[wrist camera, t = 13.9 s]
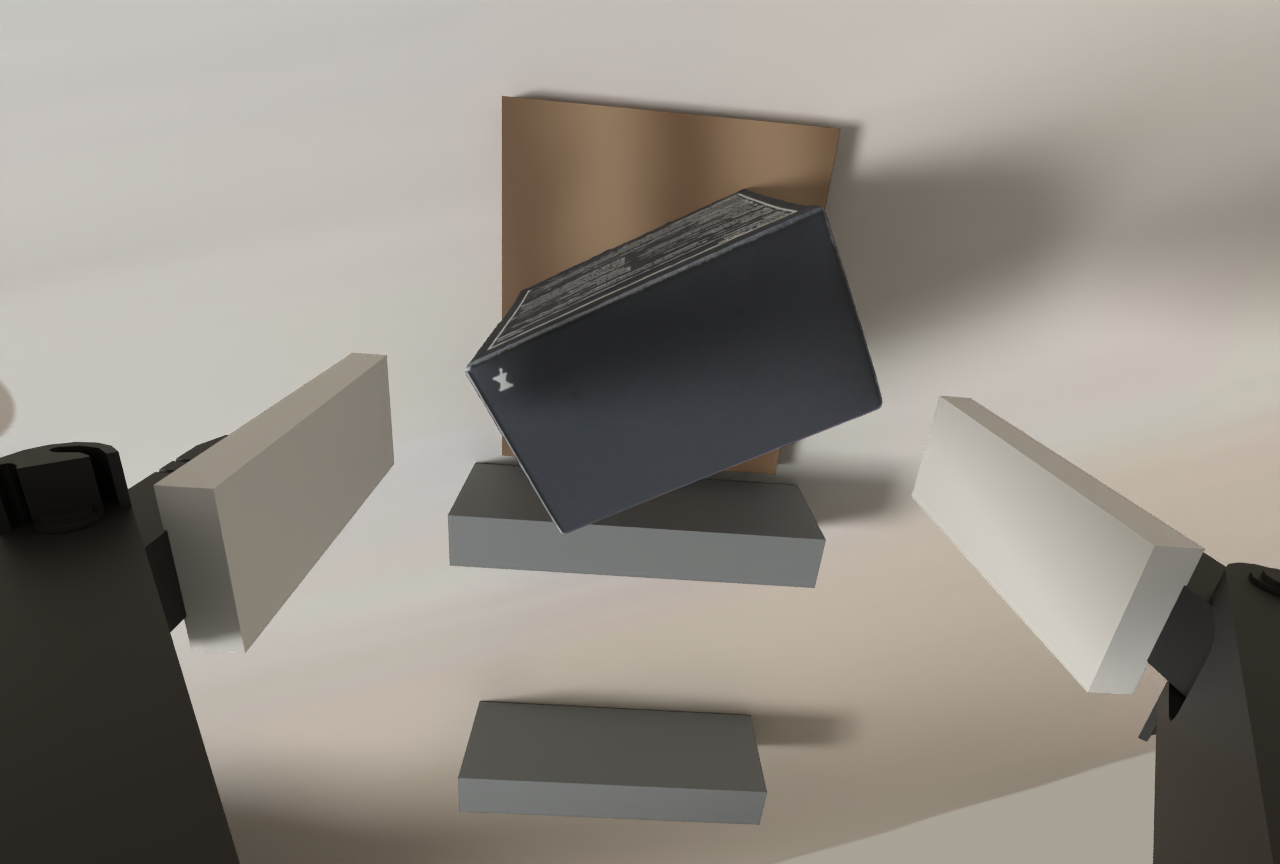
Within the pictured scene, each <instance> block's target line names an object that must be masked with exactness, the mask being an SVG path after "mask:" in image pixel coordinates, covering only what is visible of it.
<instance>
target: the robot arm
mask: <svg viewBox="0 0 1280 864" xmlns="http://www.w3.org/2000/svg"><path fill="white" fill-rule="evenodd" d="M393 465H394V454H393V440H392V425H391V411H390V396H389V382H388V368H387V355H375V354H362V353H352V354H350V355H349V356H347V357H346V358H344V359H343V360H341V361H340V362H338V363H337V364H335V365H334V366H332V367H331V368H329V369H328V370H326V371H325V372H323V373H321V374H320V375H318V376H317V377H315V378H314V379H312V380H311V381H309V382H308V383H306V384H305V385H303V386H302V387H300V388H299V389H297V390H296V391H294V392H293V393H291V394H290V395H288V396H287V397H285V398H284V399H282V400H281V401H279V402H278V403H276V404H275V405H273V406H272V407H270V408H269V409H267V410H266V411H264V412H263V413H261V414H260V415H258V416H257V417H255V418H254V419H252V420H251V421H249V422H248V423H246V424H245V425H243V426H242V427H240V428H239V429H237V430H236V431H234V432H233V433H231V434H230V435H225V436H222V437H219V438H216V439H214V440H211V441H208V442H205V443H202V444H200V445H197V446H195V447H194V448H192V449H191V450H189V451H188V452H186V453H184V454H183V455H181V456H180V457H178V458H177V459H176V461H172V462H170V463H169V464H167V465H166V466H164V467H162V468H161V469H159V470H160V471H159V472H155V473H153V474H151V475H150V476H148V477H147V478H145V479H144V480H142V481H141V482H139V483H137V484H136V485H134V486H133V487H131V488H130V489H128V488H127V484H126V480H125V476H124V472H123V468H122V464H121V460H120V456H119V452H118V451H117V450H116V449H115V448H114V447H112V446H110V445H105V444H101V443H93V442H72V443H62V444H52V445H46V446H41V447H36V448H32V449H27V450H23V451H20V452H17V453H14V454H11V455H7V456H4V457H1V458H0V864H240V863H239V860H238V856H237V853H236V850H235V846H234V843H233V840H232V837H231V833H230V830H229V827H228V823H227V820H226V817H225V813H224V810H223V807H222V803H221V800H220V797H219V793H218V790H217V787H216V783H215V780H214V777H213V773H212V770H211V767H210V763H209V760H208V757H207V754H206V750H205V747H204V744H203V740H202V737H201V734H200V730H199V727H198V724H197V720H196V717H195V714H194V710H193V707H192V704H191V700H190V697H189V694H188V690H187V687H186V684H185V681H184V677H183V674H182V671H181V667H180V664H179V661H178V657H177V654H176V651H175V647H174V644H173V641H172V637H171V634H170V632H171V631H172V630H173V629H174V628H175V627H176V626H177V625H178V624H179V623H180V622H181V621H182V620H183V619H184V620H185V624H186V628H187V633H188V637H189V641H190V646H191V650H192V651H203V652H225V653H246V652H247V650H248V649H249V648H250V646H251V645H252V644H253V643H254V641H255V640H256V639H257V638H258V636H259V635H260V634H261V632H262V631H263V630H264V629H265V627H266V626H267V625H268V624H269V622H270V621H271V620H272V618H273V617H274V616H275V615H276V613H277V612H278V611H279V610H280V608H281V607H282V606H283V604H284V603H285V602H286V601H287V599H288V598H289V597H290V596H291V594H292V593H293V592H294V590H295V589H296V588H297V587H298V585H299V584H300V583H301V582H302V580H303V579H304V578H305V576H306V575H307V574H308V573H309V571H310V570H311V569H312V568H313V566H314V565H315V564H316V563H317V561H318V560H319V559H320V557H321V556H322V555H323V554H324V552H325V551H326V550H327V549H328V547H329V546H330V545H331V543H332V542H333V541H334V540H335V538H336V537H337V536H338V535H339V533H340V532H341V531H342V529H343V528H344V527H345V526H346V524H347V523H348V522H349V521H350V519H351V518H352V517H353V515H354V514H355V513H356V512H357V510H358V509H359V508H360V507H361V505H362V504H363V503H364V501H365V500H366V499H367V498H368V496H369V495H370V494H371V493H372V491H373V490H374V489H375V487H376V486H377V485H378V484H379V482H380V481H381V480H382V479H383V477H384V476H385V475H386V473H387V472H388V471H389V470H390V468H391V467H392V466H393ZM912 498H913V499H914V500H915V501H916V502H917V503H918V504H919V505H920V507H921V508H922V509H923V510H924V511H925V512H926V513H927V514H928V515H929V517H930V518H931V519H932V520H933V521H934V522H935V523H936V524H937V525H938V527H939V528H940V529H941V530H942V531H943V532H944V533H945V534H946V536H947V537H948V538H949V539H950V540H951V541H952V542H953V543H954V544H955V546H956V547H957V548H958V549H959V550H960V551H961V552H962V553H963V554H964V556H965V557H966V558H967V559H968V560H969V561H970V562H971V563H972V564H973V566H974V567H975V568H976V569H977V570H978V571H979V572H980V573H981V574H982V576H983V577H984V578H985V579H986V580H987V581H988V582H989V583H990V584H991V586H992V587H993V588H994V589H995V590H996V591H997V592H998V593H999V594H1000V596H1001V597H1002V598H1003V599H1004V600H1005V601H1006V602H1007V603H1008V604H1009V606H1010V607H1011V608H1012V609H1013V610H1014V611H1015V612H1016V613H1017V614H1018V616H1019V617H1020V618H1021V619H1022V620H1023V621H1024V622H1025V623H1026V624H1027V626H1028V627H1029V628H1030V629H1031V630H1032V631H1033V632H1034V633H1035V634H1036V636H1037V637H1038V638H1039V639H1040V640H1041V641H1042V642H1043V643H1044V644H1045V646H1046V647H1047V648H1048V649H1049V650H1050V651H1051V652H1052V653H1053V655H1054V656H1055V657H1056V658H1057V659H1058V660H1059V661H1060V662H1061V663H1062V665H1063V666H1064V667H1065V668H1066V669H1067V670H1068V671H1069V672H1070V673H1071V675H1072V676H1073V677H1074V678H1075V679H1076V680H1077V681H1078V682H1079V683H1080V685H1081V686H1082V687H1083V688H1084V689H1085V690H1086V691H1087V692H1089V693H1111V694H1132V695H1133V693H1134V691H1135V689H1136V687H1137V685H1138V683H1139V681H1140V679H1141V677H1142V675H1143V673H1144V671H1145V669H1146V667H1147V665H1148V663H1149V664H1150V665H1152V666H1153V667H1154V668H1155V669H1156V670H1157V671H1158V672H1159V673H1160V674H1161V675H1162V676H1163V677H1164V678H1166V679H1167V680H1168V681H1167V683H1166V685H1165V687H1164V689H1163V691H1162V693H1161V695H1160V696H1159V698H1158V700H1157V702H1156V704H1155V706H1154V708H1153V710H1152V712H1151V714H1150V716H1149V718H1148V720H1147V722H1146V724H1145V726H1144V728H1143V729H1142V731H1141V733H1140V735H1139V737H1138V738H1140V739H1142V740H1144V741H1148V739H1149V738H1150V736H1151V735H1156V767H1155V809H1154V810H1155V811H1154V852H1153V855H1154V856H1153V864H1280V570H1279V569H1274V568H1268V567H1264V566H1260V565H1256V564H1248V563H1232V564H1228V565H1227V567H1225V566H1224V565H1222V564H1221V563H1219V562H1218V561H1216V560H1215V559H1213V558H1211V557H1210V556H1208V555H1207V554H1205V553H1204V550H1205V549H1204V548H1203V547H1201V546H1200V545H1198V544H1197V543H1195V542H1194V541H1192V540H1190V539H1189V538H1187V537H1186V536H1184V535H1183V534H1181V533H1180V532H1178V531H1176V530H1175V529H1173V528H1172V527H1170V526H1169V525H1167V524H1166V523H1164V522H1162V521H1161V520H1159V519H1158V518H1156V517H1155V516H1153V515H1152V514H1150V513H1148V512H1147V511H1145V510H1144V509H1142V508H1141V507H1139V506H1138V505H1136V504H1134V503H1133V502H1131V501H1130V500H1128V499H1127V498H1125V497H1124V496H1122V495H1120V494H1119V493H1117V492H1116V491H1114V490H1113V489H1111V488H1110V487H1108V486H1106V485H1105V484H1103V483H1102V482H1100V481H1099V480H1097V479H1095V478H1094V477H1092V476H1091V475H1089V474H1088V473H1086V472H1085V471H1083V470H1081V469H1080V468H1078V467H1077V466H1075V465H1074V464H1072V463H1071V462H1069V461H1067V460H1066V459H1064V458H1063V457H1061V456H1060V455H1058V454H1057V453H1055V452H1053V451H1052V450H1050V449H1049V448H1047V447H1046V446H1044V445H1043V444H1041V443H1039V442H1038V441H1036V440H1035V439H1033V438H1032V437H1030V436H1029V435H1027V434H1025V433H1024V432H1022V431H1021V430H1019V429H1018V428H1016V427H1015V426H1013V425H1011V424H1010V423H1008V422H1007V421H1005V420H1004V419H1002V418H1000V417H999V416H997V415H996V414H994V413H993V412H991V411H990V410H988V409H986V408H985V407H983V406H982V405H980V404H979V403H977V402H976V401H974V400H972V399H971V398H962V397H949V396H939V400H938V404H937V407H936V411H935V414H934V418H933V422H932V425H931V429H930V432H929V436H928V439H927V443H926V447H925V450H924V454H923V457H922V461H921V465H920V468H919V472H918V475H917V479H916V483H915V486H914V490H913V493H912Z"/></svg>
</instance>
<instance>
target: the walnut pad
mask: <svg viewBox="0 0 1280 864" xmlns="http://www.w3.org/2000/svg"><path fill="white" fill-rule="evenodd" d="M839 132H840V129H839V128H829V127H818V126H808V125H797V124H787V123H777V122H766V121H756V120H745V119H735V118H725V117H714V116H704V115H693V114H683V113H673V112H662V111H652V110H641V109H631V108H621V107H610V106H600V105H589V104H579V103H569V102H558V101H548V100H537V99H527V98H517V97H506V96H502V319H503V318H504V317H505V315H506V314H507V313H508V311H509V309H511V307H512V305H513V303H514V302H515V300H516V298H517V297H518V295H519V293H520V292H521V290H524V289H527V288H529V287H532V286H534V285H536V284H538V283H540V282H542V281H544V280H546V279H548V278H550V277H552V276H554V275H556V274H558V273H560V272H562V271H564V270H567V269H569V268H571V267H572V266H574V265H578V264H580V263H581V262H584V261H587V260H589V259H591V258H592V257H593V256H597V255H599V254H601V253H602V252H604V251H606V250H609V249H613V248H615V247H617V246H619V245H621V244H623V243H626V242H628V241H630V240H633V239H635V238H637V237H639V236H641V235H643V234H645V233H647V232H650V231H653V230H654V229H656V228H659V227H661V226H663V225H665V224H666V223H667V222H672V221H674V220H676V219H679V218H681V217H683V216H685V215H687V214H689V213H691V212H693V211H696V210H698V209H700V208H703V207H705V206H707V205H709V204H711V203H713V202H715V201H718V200H720V199H722V198H725V197H727V196H729V195H732V194H734V193H736V192H738V191H740V190H742V189H748V190H749V191H752V192H755V193H757V194H762V195H763V196H768V197H772V198H775V199H779V200H784V201H786V202H789V203H794V204H798V205H801V204H802V205H807V206H808V205H817V206H820V207H822V208H823V209H824V211H825V207H826V202H827V196H828V191H829V186H830V180H831V175H832V170H833V164H834V159H835V154H836V148H837V143H838V138H839ZM779 452H780V448H779V449H776V450H773V451H771V452H768V453H766V454H763V455H761V456H758V457H756V458H753V459H751V460H748V461H746V462H743V463H741V464H738V465H736V466H733V467H731V468H728V469H725V470H723V471H733V472H748V473H762V474H775V473H776V468H777V462H778V457H779ZM502 455H504V456H514V454H513V452H512V451H511V449H510V447H509V446H508V444H507V442H506V441H505V439H504V438H503V436H502Z"/></svg>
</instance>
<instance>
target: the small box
mask: <svg viewBox="0 0 1280 864" xmlns="http://www.w3.org/2000/svg"><path fill="white" fill-rule="evenodd" d="M465 373H466V376H467V378H468V379H469V380H470V382H471V383H472V385H473V387H474V388H475V390H476V391H477V393H478V395H479V397H480V398H481V400H482V401H483V403H484V405H485V406H486V408H487V410H488V412H489V414H490V415H491V417H492V419H493V420H494V422H495V424H496V426H497V427H498V429H499V431H500V433H501V434H502V436H503V438H504V439H505V441H506V442H507V444H508V446H509V447H510V449H511V451H512V452H513V454H514V456H515V458H516V459H517V461H518V463H519V465H520V467H521V469H522V470H523V471H524V473H525V475H526V477H527V478H528V480H529V481H530V484H531V486H532V487H533V489H534V490H535V492H536V493H537V495H538V497H539V499H540V500H541V502H542V504H543V506H544V508H545V509H546V511H547V512H548V514H549V515H550V517H551V519H552V521H553V523H554V524H555V526H556V528H557V529H558V531H559V532H560V533H562V534H567V533H570V532H572V531H574V530H576V529H579V528H582V527H584V526H586V525H589V524H592V523H594V522H597V521H599V520H602V519H604V518H607V517H609V516H612V515H614V514H617V513H619V512H622V511H624V510H626V509H629V508H631V507H634V506H636V505H639V504H641V503H644V502H646V501H649V500H651V499H653V498H656V497H658V496H661V495H663V494H666V493H668V492H671V491H673V490H676V489H678V488H681V487H683V486H686V485H688V484H691V483H693V482H696V481H698V480H701V479H703V478H706V477H708V476H711V475H713V474H715V473H718V472H720V471H723V470H725V469H728V468H731V467H733V466H736V465H738V464H741V463H743V462H746V461H748V460H751V459H753V458H756V457H758V456H761V455H763V454H766V453H768V452H771V451H773V450H776V449H779V448H781V447H784V446H786V445H789V444H791V443H794V442H796V441H799V440H801V439H804V438H806V437H809V436H811V435H814V434H816V433H819V432H822V431H824V430H827V429H829V428H832V427H834V426H837V425H839V424H842V423H844V422H846V421H849V420H852V419H855V418H857V417H860V416H862V415H865V414H867V413H870V412H872V411H875V410H877V409H879V408H880V407H881V405H882V397H881V393H880V389H879V386H878V382H877V378H876V374H875V370H874V367H873V364H872V361H871V357H870V354H869V351H868V348H867V344H866V341H865V337H864V334H863V330H862V327H861V323H860V321H859V318H858V315H857V311H856V308H855V305H854V302H853V298H852V295H851V292H850V289H849V285H848V282H847V278H846V275H845V272H844V269H843V266H842V263H841V260H840V257H839V253H838V250H837V247H836V244H835V240H834V237H833V234H832V231H831V227H830V224H829V220H828V218H827V215H826V213H825V211H824V209H823V208H822V207H820V206H817V205H808V206H807V205H802V204H801V205H798V204H794V203H789V202H786V201H784V200H779V199H775V198H772V197H768V196H763V195H762V194H757V193H755V192H752V191H749V190H748V189H742V190H740V191H738V192H736V193H734V194H732V195H729V196H727V197H725V198H722V199H720V200H718V201H715V202H713V203H711V204H709V205H707V206H705V207H703V208H700V209H698V210H696V211H693V212H691V213H689V214H687V215H685V216H683V217H681V218H679V219H676V220H674V221H672V222H667V223H666V224H665V225H663V226H661V227H659V228H656V229H654V230H653V231H650V232H647V233H645V234H643V235H641V236H639V237H637V238H635V239H633V240H630V241H628V242H626V243H623V244H621V245H619V246H617V247H615V248H613V249H609V250H606V251H604V252H602V253H601V254H599V255H597V256H593V257H592V258H591V259H589V260H587V261H584V262H581V263H580V264H578V265H574V266H572V267H571V268H569V269H567V270H564V271H562V272H560V273H558V274H556V275H554V276H552V277H550V278H548V279H546V280H544V281H542V282H540V283H538V284H536V285H534V286H532V287H529V288H527V289H524V290H521V292H520V293H519V295H518V297H517V298H516V300H515V302H514V303H513V305H512V307H511V309H509V311H508V313H507V314H506V315H505V317H504V318H503V319H502V321H501V322H500V323H499V324H498V325H497V327H496V328H495V329H494V330H493V332H492V334H490V336H489V337H488V338H487V340H486V342H484V344H483V346H482V347H481V348H480V349H479V350H478V352H477V354H476V355H475V357H474V358H473V359H472V360H471V362H470V363H469V364H468V365H467V368H466V371H465Z"/></svg>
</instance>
